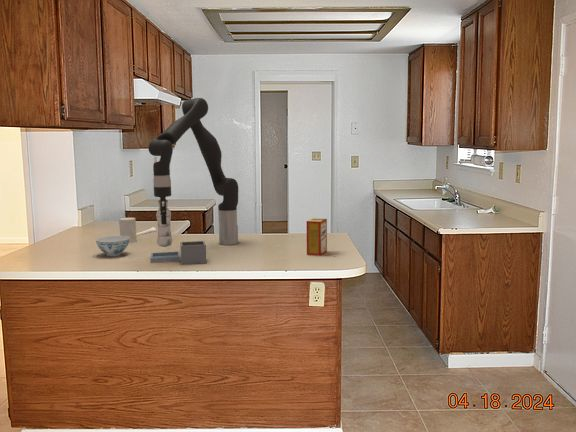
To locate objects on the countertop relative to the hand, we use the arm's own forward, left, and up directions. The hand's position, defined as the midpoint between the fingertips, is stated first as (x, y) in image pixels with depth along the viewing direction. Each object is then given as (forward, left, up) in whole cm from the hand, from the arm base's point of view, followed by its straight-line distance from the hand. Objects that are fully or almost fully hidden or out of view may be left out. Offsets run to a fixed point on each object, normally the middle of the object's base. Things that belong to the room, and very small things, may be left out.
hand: (164, 223), depth 261 cm
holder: (-12, +8, -16) cm, 22 cm away
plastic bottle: (0, 0, -11) cm, 11 cm away
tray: (0, 0, -16) cm, 16 cm away
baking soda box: (-68, +6, -17) cm, 71 cm away
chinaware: (+24, -16, -17) cm, 33 cm away
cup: (+19, -49, -17) cm, 55 cm away
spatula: (+13, -66, -17) cm, 70 cm away
